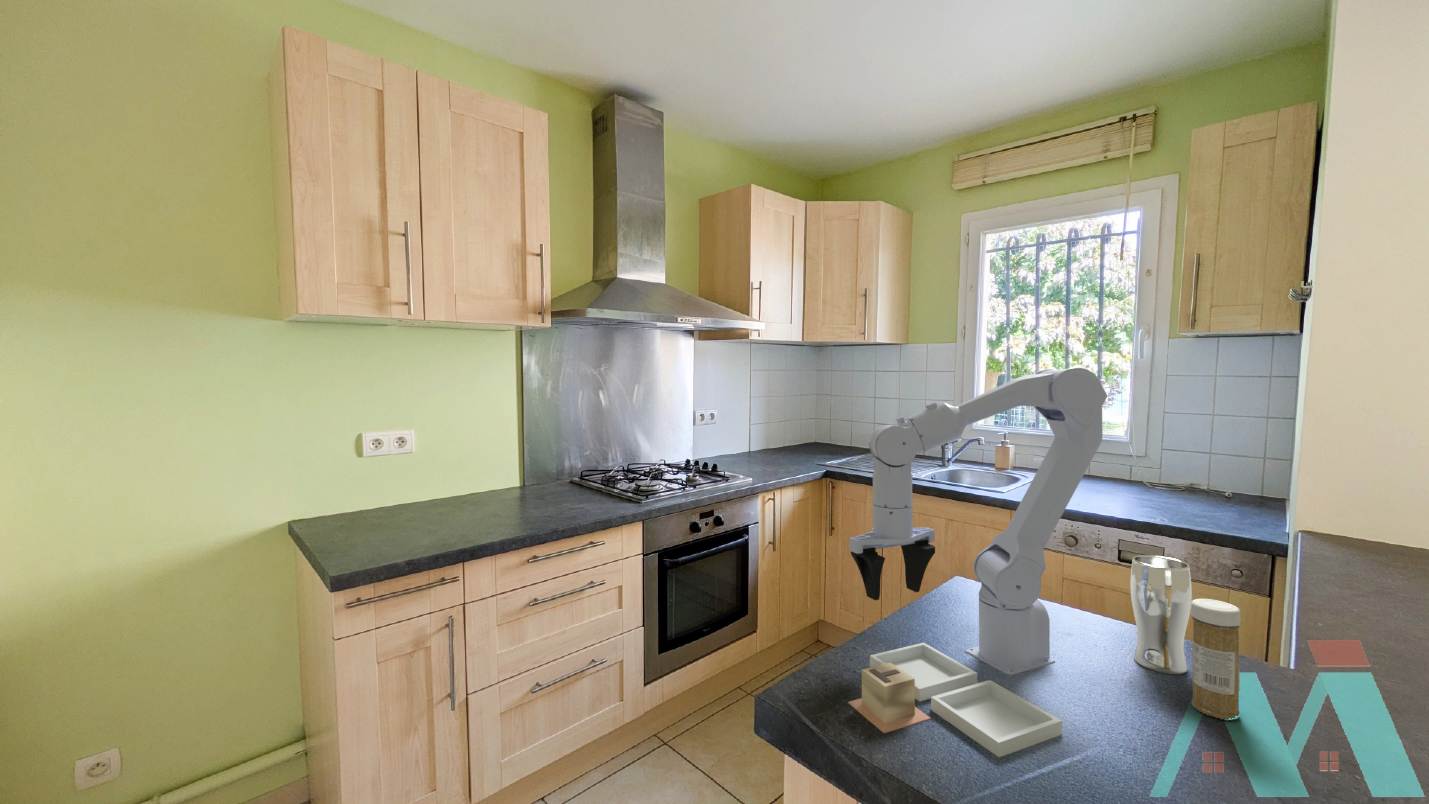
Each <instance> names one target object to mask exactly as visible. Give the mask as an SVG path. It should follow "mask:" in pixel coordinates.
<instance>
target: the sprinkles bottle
mask: <svg viewBox="0 0 1429 804" xmlns="http://www.w3.org/2000/svg"><path fill="white" fill-rule="evenodd" d="M1190 616H1192V617H1191V619H1192V641H1191V642H1192V645H1191V646H1192V653H1191V654H1192V656H1191V657H1192V658H1191V661H1192V663H1191V665H1192V666H1191V667H1192V669H1191V671H1192V672H1191V673H1192V675H1191V676H1192V677H1191V679H1192V699H1191V705H1192V707H1193V708H1194V709H1195V710H1197V711H1198V712H1200V713H1201V712H1202V714H1203V715H1205V714H1206V716H1208V715H1209V716H1208V717H1210V716H1213V717H1217V718H1222V719H1229V718H1231V719H1232V718H1235V716H1238V715H1239V713H1240V711H1239V708H1240V707H1239V705H1240V704H1239V702H1240V700H1239V697H1240V696H1239V695H1240V694H1239V693H1240V683H1241V682H1240V681H1241V679H1240V676H1241V675H1240V659H1239V656H1240V655H1239V654H1240V652H1239V650H1240V649H1239V647H1240V645H1239V639H1240V638H1239V637H1240V636H1239V629H1240V625H1241V619H1242V618H1241V616H1242V615H1241V610H1240V608H1239V607H1237V606H1235V605H1234V604H1231V603H1229V602H1225V601H1221V600H1217V599H1211V598H1196V599H1192V601H1191V610H1190ZM1213 717H1212V718H1213ZM1217 718H1216V719H1217ZM1222 719H1221V720H1222Z"/></svg>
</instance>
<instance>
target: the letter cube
mask: <svg viewBox="0 0 1429 804" xmlns="http://www.w3.org/2000/svg"><path fill="white" fill-rule="evenodd" d="M861 698H862V705H863V706H864V707H866V708H867V709H868V710H869V711H870V712H872V713H873V714H874V715H875V716H877V717H878V718H879V719H880V720H881V721H883V722H884V723H885V724H886V723H889V722H892V721H896V720H899V719H903V718H906V717H909V716H913V715H915V707H916V704H915V702H916V699H915V679H914V678H913V677H911V676H910V675H908V674H907V673H905V672H904V671H902V670H901V669H899V668H898V667H896V666H895V665H893V664H892V663H886V664H882V665H878V666H874V667H870V666H869V667H867V668H862V669H861Z"/></svg>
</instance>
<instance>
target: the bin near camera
mask: <svg viewBox="0 0 1429 804" xmlns="http://www.w3.org/2000/svg"><path fill="white" fill-rule="evenodd" d="M930 710H931V712H933V713H935V714H936V715H938V717H941V719H943V720H945V721H946V722H948V723H949V724H951V725H952V726H953V727H955V728H956V729H957V730H959V731H960V732H962V733H963V734H964V735H966V736H968V737H969V738H970V739H971V740H973V741H974V742H976V743H978V745H981V746H982V747H983V748H985V749H986V750H987V751H989V752H990V753H992V754H993V755H994V756H996V757H998V758H1002V757H1005V756H1008V755H1010V754H1013V753H1016V752H1019V751H1021V750H1024V749H1026V748H1030V747H1031V746H1032V747H1033V746H1035V745H1038V744H1041V743H1043V742H1046V741H1049V740H1052V739H1054V738H1057V737H1060V736H1062V735H1063V720H1061V719H1060V718H1059V717H1056V716H1055V715H1053V714H1051V713H1049V712H1047V711H1046V710H1044V709H1042V708H1040V707H1039V706H1037V705H1035V704H1033V703H1032V702H1030V701H1028V700H1026V699H1024V698H1022V697H1021V696H1019V695H1018V694H1016V693H1013V692H1012V691H1011V690H1009V689H1007V688H1005V687H1003V686H1001V685H1000V684H998V683H996V682H995V681H992V680H991V679H989V680H985V681H981V682H978V683H977V684H974V685H970V686H967V687H963V688H960V689H956V690H953V691H949V692H946V693H943V694H939V695H936V696H932V697H931V699H930Z"/></svg>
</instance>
